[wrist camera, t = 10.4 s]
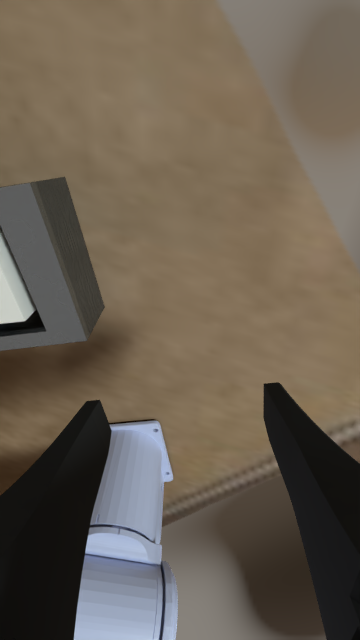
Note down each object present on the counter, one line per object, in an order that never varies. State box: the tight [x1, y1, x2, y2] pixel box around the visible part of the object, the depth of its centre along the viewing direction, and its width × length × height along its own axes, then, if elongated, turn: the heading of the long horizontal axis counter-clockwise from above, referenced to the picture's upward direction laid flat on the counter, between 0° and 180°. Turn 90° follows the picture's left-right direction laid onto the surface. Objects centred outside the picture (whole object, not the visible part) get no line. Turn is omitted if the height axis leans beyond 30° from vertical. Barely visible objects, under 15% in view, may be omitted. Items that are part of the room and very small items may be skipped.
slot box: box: [0, 177, 104, 351], centre depth 18 cm, size 9×8×5 cm
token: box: [0, 226, 37, 324], centre depth 18 cm, size 5×2×5 cm, turn 7°
